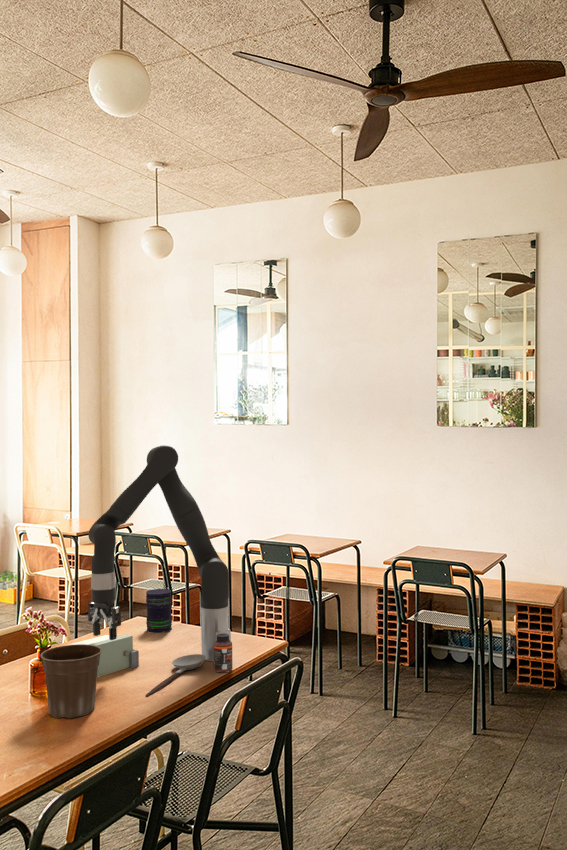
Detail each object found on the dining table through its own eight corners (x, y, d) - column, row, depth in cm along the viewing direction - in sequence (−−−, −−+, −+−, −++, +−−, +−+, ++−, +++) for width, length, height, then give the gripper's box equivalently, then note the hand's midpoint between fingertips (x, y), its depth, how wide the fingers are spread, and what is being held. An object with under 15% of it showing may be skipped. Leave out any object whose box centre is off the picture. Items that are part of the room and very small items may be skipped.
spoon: (212, 663, 239) (211, 654, 239) (163, 702, 208) (162, 692, 208) (182, 663, 243) (181, 654, 243) (130, 702, 212) (129, 691, 212)
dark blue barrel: (170, 632, 280) (169, 593, 280) (144, 633, 280) (143, 594, 280) (173, 626, 290) (173, 588, 290) (148, 626, 290) (148, 589, 290)
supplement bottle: (229, 673, 230) (229, 637, 230) (211, 672, 231) (210, 636, 231) (234, 667, 235) (234, 632, 236) (217, 667, 237) (216, 631, 237)
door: (135, 667, 239) (134, 636, 239) (82, 683, 223) (82, 650, 224) (127, 664, 241) (127, 634, 242) (74, 680, 226) (74, 648, 226)
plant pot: (80, 696, 212) (79, 640, 212) (114, 708, 202) (114, 649, 202) (29, 713, 199) (28, 653, 200) (63, 727, 189) (63, 664, 189)
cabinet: (138, 665, 239) (138, 641, 240) (79, 684, 222) (78, 657, 222) (110, 657, 250) (110, 633, 250) (51, 674, 232) (50, 649, 233)
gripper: (80, 586, 235) (81, 636, 235) (107, 591, 226) (108, 643, 225) (100, 582, 241) (101, 631, 240) (126, 586, 231) (128, 638, 231)
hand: (104, 637), depth 233 cm, fingers open, 8 cm apart
